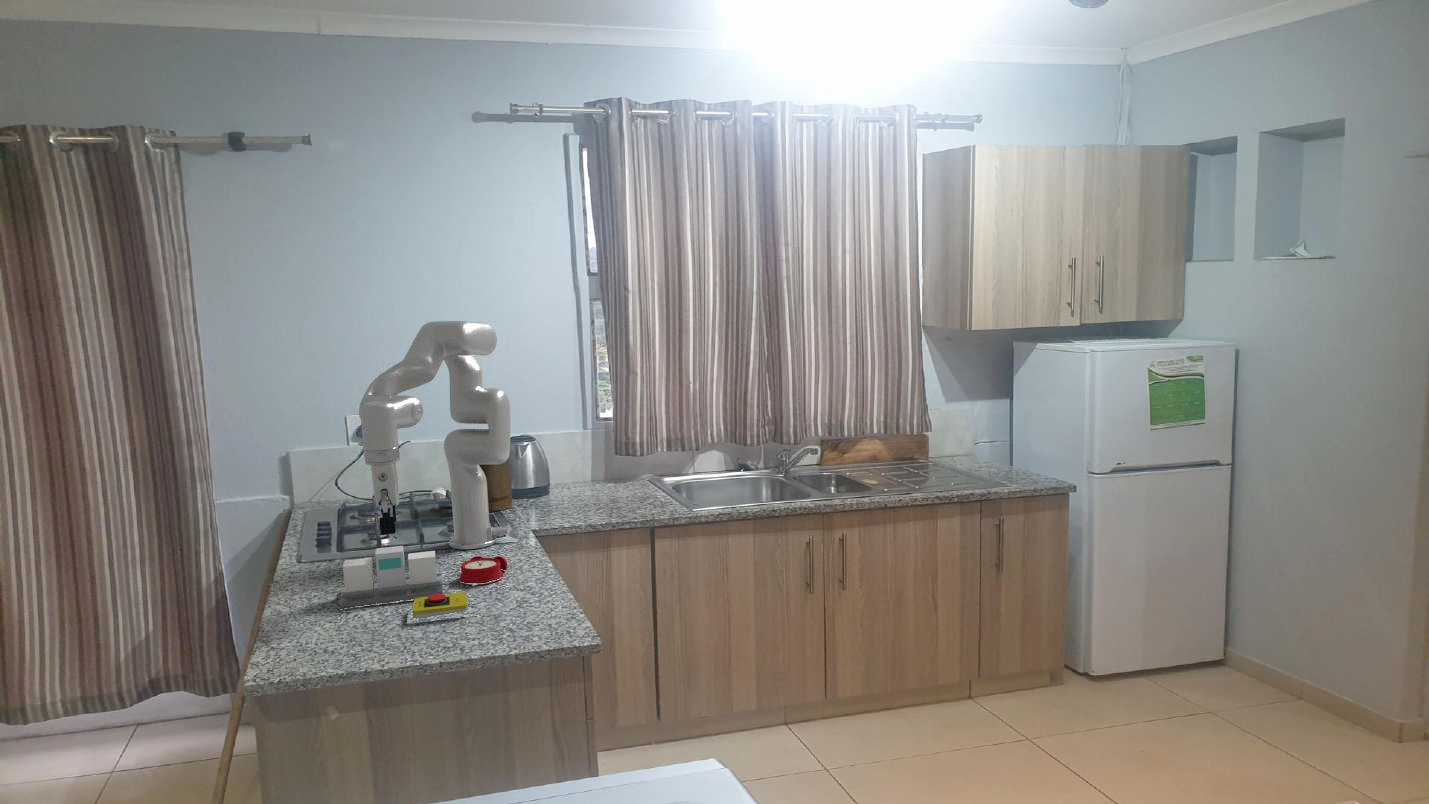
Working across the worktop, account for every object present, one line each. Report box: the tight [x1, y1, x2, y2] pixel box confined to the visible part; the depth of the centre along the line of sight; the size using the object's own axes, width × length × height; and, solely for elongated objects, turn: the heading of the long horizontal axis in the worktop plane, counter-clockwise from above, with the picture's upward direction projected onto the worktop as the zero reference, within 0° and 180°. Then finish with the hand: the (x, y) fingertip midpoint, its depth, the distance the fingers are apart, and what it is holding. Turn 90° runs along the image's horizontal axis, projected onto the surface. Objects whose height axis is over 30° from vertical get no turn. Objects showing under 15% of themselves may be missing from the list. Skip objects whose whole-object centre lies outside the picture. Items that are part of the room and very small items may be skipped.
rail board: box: [339, 572, 444, 610], centre depth 224 cm, size 22×14×2 cm, turn 107°
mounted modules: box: [342, 550, 438, 592], centre depth 223 cm, size 20×5×6 cm, turn 107°
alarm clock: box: [456, 555, 508, 583], centre depth 234 cm, size 10×6×15 cm
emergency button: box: [412, 592, 469, 619], centre depth 210 cm, size 9×4×15 cm
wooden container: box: [478, 456, 513, 513], centre depth 303 cm, size 15×15×22 cm
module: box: [375, 545, 407, 588], centre depth 223 cm, size 6×5×8 cm
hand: (388, 528), depth 222 cm, fingers open, 9 cm apart
